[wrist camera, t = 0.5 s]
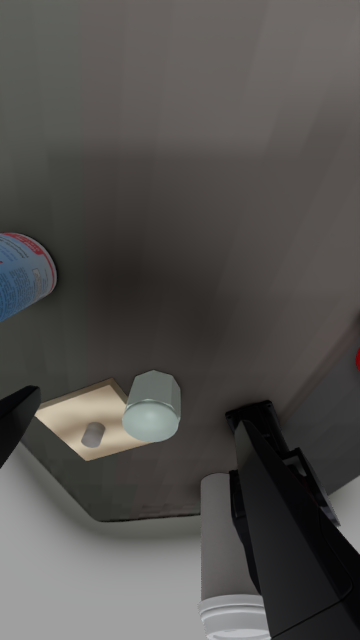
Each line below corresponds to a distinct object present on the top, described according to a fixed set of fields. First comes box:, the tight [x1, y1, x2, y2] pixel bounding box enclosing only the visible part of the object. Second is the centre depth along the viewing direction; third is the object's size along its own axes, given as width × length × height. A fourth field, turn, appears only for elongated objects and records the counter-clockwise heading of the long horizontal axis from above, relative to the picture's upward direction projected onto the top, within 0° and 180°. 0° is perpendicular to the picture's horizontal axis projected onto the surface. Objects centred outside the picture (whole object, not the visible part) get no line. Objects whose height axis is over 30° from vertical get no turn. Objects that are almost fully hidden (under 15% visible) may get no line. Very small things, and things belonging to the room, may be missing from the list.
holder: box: [35, 378, 152, 461], centre depth 27 cm, size 12×12×3 cm
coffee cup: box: [198, 473, 271, 640], centre depth 30 cm, size 10×10×15 cm
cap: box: [122, 370, 181, 442], centre depth 24 cm, size 6×6×5 cm
